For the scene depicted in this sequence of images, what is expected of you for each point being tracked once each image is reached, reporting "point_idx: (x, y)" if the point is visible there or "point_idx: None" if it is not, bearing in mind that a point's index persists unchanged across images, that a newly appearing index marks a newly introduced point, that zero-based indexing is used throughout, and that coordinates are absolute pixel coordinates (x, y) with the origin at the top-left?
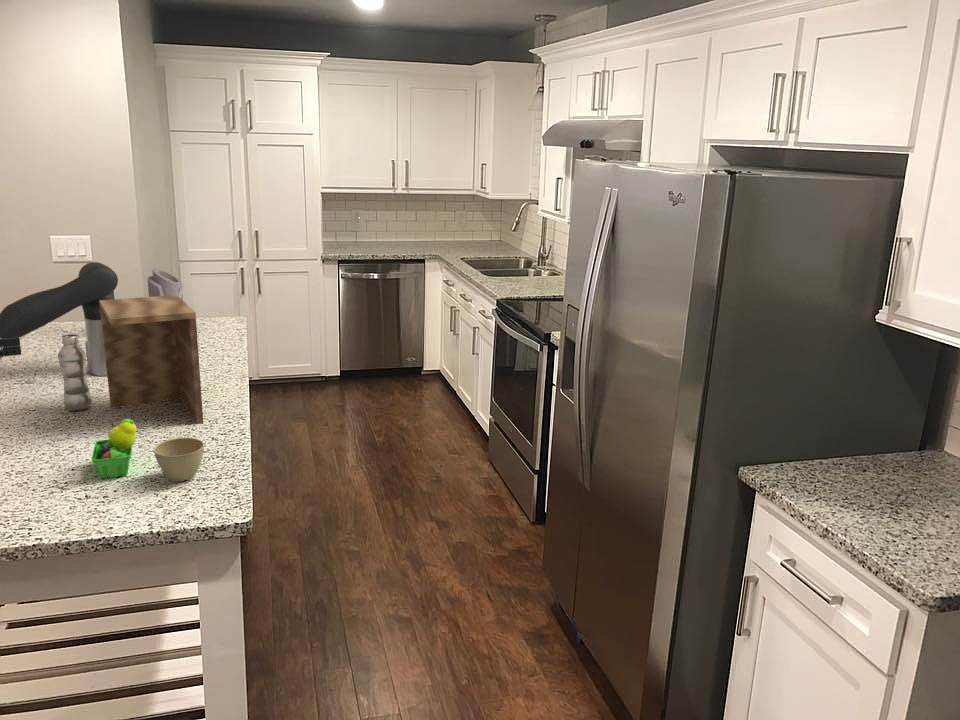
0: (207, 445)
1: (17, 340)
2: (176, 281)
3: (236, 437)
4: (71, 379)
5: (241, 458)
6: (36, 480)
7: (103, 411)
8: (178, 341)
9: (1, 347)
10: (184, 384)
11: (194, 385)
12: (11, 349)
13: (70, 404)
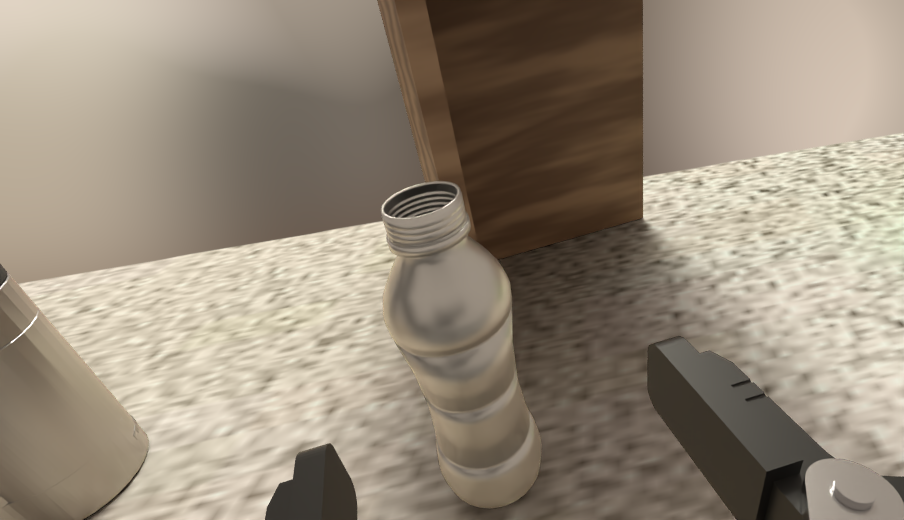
0: (771, 185)
1: (334, 468)
2: None
3: (713, 169)
4: (516, 375)
5: (822, 147)
6: None
7: (535, 392)
8: (465, 104)
9: (818, 468)
10: (522, 198)
11: (642, 129)
12: (762, 391)
13: (538, 463)
